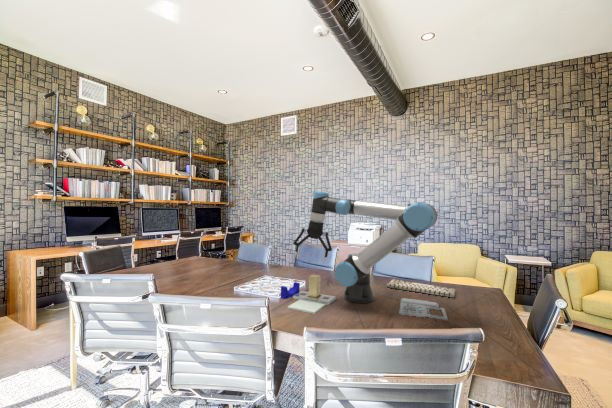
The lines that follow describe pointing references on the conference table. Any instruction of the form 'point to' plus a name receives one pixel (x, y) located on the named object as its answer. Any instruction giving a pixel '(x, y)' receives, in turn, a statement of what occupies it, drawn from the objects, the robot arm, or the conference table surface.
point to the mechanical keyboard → (421, 288)
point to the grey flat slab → (420, 308)
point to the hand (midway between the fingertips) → (310, 260)
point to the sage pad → (306, 306)
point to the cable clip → (290, 291)
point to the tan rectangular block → (314, 286)
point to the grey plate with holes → (322, 299)
